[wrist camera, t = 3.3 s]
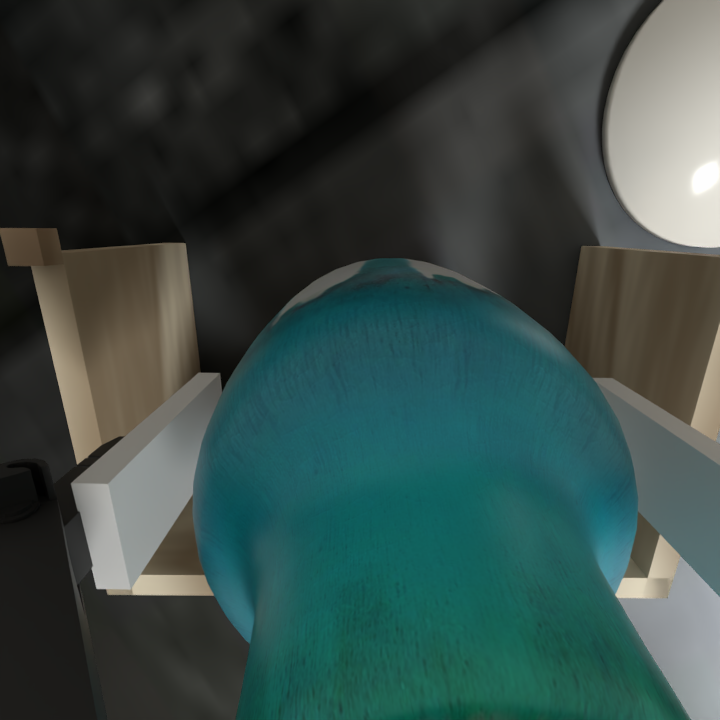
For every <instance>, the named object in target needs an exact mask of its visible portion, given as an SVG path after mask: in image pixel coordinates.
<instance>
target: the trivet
mask: <svg viewBox="0 0 720 720" xmlns="http://www.w3.org/2000/svg"><path fill="white" fill-rule="evenodd" d="M602 151H603V159H604V166H605V170H606V173H607V177H608V181H609V183H610V186H611V188H612V190H613V193H614V195H615V197H616V199H617V200H618V202H619V203H620V205H621V207H622V208H623V210H624V211H625V212H626V213H627V214H628V215H629V216H630V218H631V219H632V220H633V221H634V222H635V223H637V224H638V225H639V226H640V227H641V228H643V229H644V230H645V231H647V232H649V233H650V234H652V235H654V236H655V237H657V238H660V239H662V240H665V241H668V242H670V243H674V244H679V245H683V246H693V247H709V248H710V247H720V0H662V1H661V2H660V3H659V5H658V6H657V7H656V8H655V9H654V10H653V11H652V12H651V13H650V14H649V16H648V17H647V18H646V20H645V21H644V22H643V24H642V25H641V26H640V28H639V29H638V30H637V32H636V33H635V35H634V36H633V38H632V40H631V41H630V43H629V45H628V47H627V48H626V50H625V52H624V54H623V56H622V58H621V60H620V62H619V64H618V67H617V69H616V71H615V74H614V77H613V79H612V82H611V85H610V88H609V91H608V96H607V100H606V104H605V109H604V116H603V125H602Z"/></svg>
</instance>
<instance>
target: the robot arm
mask: <svg viewBox="0 0 720 720" xmlns="http://www.w3.org/2000/svg"><path fill="white" fill-rule="evenodd" d="M593 379H594V381H595V382H596V383H597V385H598V386H599V388H600V390H601V391H602V393H603V395H604V396H605V398H606V399H607V401H608V403H609V404H610V406H611V408H612V409H613V411H614V413H615V415H616V416H617V418H618V420H619V422H620V425H621V428H622V431H623V433H624V436H625V439H626V442H627V445H628V447H629V450H630V454H631V458H632V462H633V467H634V472H635V479H636V486H637V493H638V512H639V513H640V514H641V515H642V516H643V517H644V518H645V519H646V520H647V521H648V522H649V523H650V524H651V525H652V526H653V527H654V528H655V529H656V530H657V531H658V532H659V534H660V535H661V536H662V537H663V538H664V539H665V540H666V541H667V542H668V543H669V544H670V545H671V546H672V547H673V548H674V549H675V550H676V551H677V552H678V553H679V555H680V556H681V557H682V558H683V559H684V560H685V561H686V562H687V563H688V564H689V565H690V566H691V567H692V568H693V569H694V570H695V571H696V572H697V573H698V574H699V575H700V577H701V578H702V579H703V580H704V581H705V582H706V583H707V584H708V585H709V586H710V587H711V588H712V589H713V590H714V591H715V592H716V593H717V594H718V595H719V596H720V444H718V443H717V442H715V441H714V440H712V439H710V438H709V437H707V436H705V435H704V434H702V433H701V432H699V431H697V430H696V429H694V428H692V427H691V426H689V425H688V424H686V423H684V422H683V421H681V420H680V419H678V418H676V417H675V416H673V415H671V414H670V413H668V412H667V411H665V410H663V409H662V408H660V407H658V406H657V405H655V404H654V403H652V402H650V401H649V400H647V399H645V398H644V397H642V396H641V395H639V394H637V393H636V392H634V391H632V390H631V389H629V388H628V387H626V386H624V385H623V384H621V383H619V382H618V381H616V380H615V379H613V378H593ZM221 394H222V387H221V377H220V373H198V374H197V375H196V376H194V377H193V378H192V379H191V380H190V381H189V382H187V383H186V384H185V385H184V386H183V387H182V388H180V389H179V390H178V391H177V392H176V393H175V394H174V395H172V396H171V397H170V398H169V399H168V400H167V401H165V402H164V403H163V404H162V405H161V406H160V407H158V408H157V409H156V410H155V411H154V412H153V413H152V414H150V415H149V416H148V417H147V418H146V419H145V420H143V421H142V422H141V423H140V424H139V425H138V426H136V427H135V428H134V429H133V430H132V431H131V432H130V433H128V434H127V435H126V436H119V437H117V438H115V439H113V440H111V441H109V442H107V443H105V444H103V445H101V446H100V447H98V448H97V449H96V450H95V451H94V452H92V453H91V454H90V455H89V456H88V458H85V459H84V460H83V461H81V462H80V463H79V464H78V465H77V467H74V468H73V469H72V470H70V471H69V472H68V473H67V474H65V475H64V476H63V477H62V478H61V479H59V480H58V481H57V482H56V483H55V484H53V481H52V477H51V473H50V469H49V466H48V464H47V463H46V462H45V461H44V460H39V459H21V460H16V461H11V462H6V463H3V464H0V720H107V715H106V710H105V705H104V700H103V695H102V690H101V685H100V680H99V675H98V670H97V665H96V660H95V655H94V650H93V645H92V640H91V636H90V631H89V626H88V621H87V616H86V611H85V606H84V601H83V596H82V592H81V588H80V584H79V583H80V582H81V580H82V579H83V578H84V577H85V575H86V574H87V573H88V572H89V570H90V569H91V568H92V572H93V576H94V580H95V584H96V588H97V589H128V590H131V588H132V587H133V585H134V584H135V582H136V581H137V579H138V578H139V576H140V574H141V573H142V571H143V570H144V568H145V567H146V565H147V564H148V562H149V561H150V559H151V558H152V556H153V555H154V553H155V551H156V550H157V548H158V547H159V545H160V544H161V542H162V541H163V539H164V538H165V536H166V535H167V533H168V532H169V530H170V529H171V527H172V525H173V524H174V522H175V521H176V519H177V518H178V516H179V515H180V513H181V512H182V510H183V509H184V507H185V506H186V504H187V502H188V501H189V499H190V498H191V496H192V495H193V482H194V475H195V470H196V465H197V461H198V456H199V452H200V447H201V443H202V440H203V437H204V434H205V432H206V429H207V426H208V424H209V421H210V419H211V417H212V414H213V412H214V410H215V407H216V405H217V403H218V400H219V398H220V396H221Z"/></svg>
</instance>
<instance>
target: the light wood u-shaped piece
mask: <svg viewBox="0 0 720 720" xmlns="http://www.w3.org/2000/svg"><path fill="white" fill-rule="evenodd" d="M0 234H1V238H2V242H3V246H4V250H5V254H6V258H7V262H8V266H31V268H32V272H33V277H34V281H35V285H36V290H37V294H38V298H39V302H40V307H41V311H42V315H43V320H44V324H45V328H46V332H47V337H48V341H49V345H50V350H51V354H52V358H53V362H54V367H55V371H56V375H57V380H58V384H59V388H60V392H61V397H62V401H63V405H64V410H65V414H66V418H67V422H68V427H69V431H70V435H71V439H72V444H73V448H74V452H75V457H76V461H77V465H78V464H79V463H80V462H81V461H83V460H84V459H85V458H88V456H89V455H90V454H91V453H92V452H94V451H95V450H96V449H97V448H98V447H100V446H101V445H103V444H105V443H107V442H109V441H111V440H113V439H115V438H117V437H119V436H126V435H127V434H128V433H130V432H131V431H132V430H133V429H134V428H135V427H136V426H138V425H139V424H140V423H141V422H142V421H143V420H145V419H146V418H147V417H148V416H149V415H150V414H152V413H153V412H154V411H155V410H156V409H157V408H158V407H160V406H161V405H162V404H163V403H164V402H165V401H167V400H168V399H169V398H170V397H171V396H172V395H174V394H175V393H176V392H177V391H178V390H179V389H180V388H182V387H183V386H184V385H185V384H186V383H187V382H189V381H190V380H191V379H192V378H193V377H194V376H196V375H197V374H198V373H201V369H200V360H199V352H198V343H197V335H196V326H195V318H194V309H193V301H192V292H191V284H190V276H189V267H188V259H187V250H186V243H157V244H143V245H130V246H116V247H103V248H89V249H76V250H63V251H61V247H60V242H59V237H58V232H57V228H0ZM565 348H566V349H567V350H568V351H569V352H570V353H571V354H572V355H573V357H574V358H575V359H576V360H577V361H578V362H579V363H580V364H581V365H582V367H583V368H584V369H585V370H586V371H587V372H588V374H589V375H590V376H591V377H592V378H613V379H615V380H616V381H618V382H619V383H621V384H623V385H624V386H626V387H628V388H629V389H631V390H632V391H634V392H636V393H637V394H639V395H641V396H642V397H644V398H645V399H647V400H649V401H650V402H652V403H654V404H655V405H657V406H658V407H660V408H662V409H663V410H665V411H667V412H668V413H670V414H671V415H673V416H675V417H676V418H678V419H680V420H681V421H683V422H684V423H686V424H688V425H689V426H691V427H692V428H694V429H696V430H697V431H699V432H701V433H702V434H704V435H705V436H707V437H709V438H710V439H712V440H714V441H716V438H717V435H718V432H719V428H720V255H713V254H699V253H686V252H672V251H659V250H645V249H632V248H618V247H605V246H581V252H580V258H579V264H578V270H577V276H576V282H575V288H574V294H573V300H572V306H571V312H570V318H569V324H568V330H567V336H566V342H565ZM192 509H193V495H192V496H191V498H190V499H189V501H188V502H187V504H186V506H185V507H184V509H183V510H182V512H181V513H180V515H179V516H178V518H177V519H176V521H175V522H174V524H173V525H172V527H171V529H170V530H169V532H168V533H167V535H166V536H165V538H164V539H163V541H162V542H161V544H160V545H159V547H158V548H157V550H156V551H155V553H154V555H153V556H152V558H151V559H150V561H149V562H148V564H147V565H146V567H145V568H144V570H143V571H142V573H141V574H140V576H139V578H138V579H137V581H136V582H135V584H134V585H133V587H132V588H131V590H128V589H107V594H108V595H214V594H213V592H212V590H211V589H210V587H209V585H208V583H207V580H206V577H205V574H204V571H203V569H202V566H201V563H200V560H199V556H198V549H197V543H196V537H195V530H194V523H193V513H192ZM679 559H680V555H679V553H678V552H677V551H676V550H675V549H674V548H673V547H672V546H671V545H670V544H669V543H668V542H667V541H666V540H665V539H664V538H663V537H662V536H661V535H660V534H659V532H658V531H657V530H656V529H655V528H654V527H653V526H652V525H651V524H650V523H649V522H648V521H647V520H646V519H645V518H644V517H643V516H642V515H641V514H640V513H639V512H638V518H637V530H636V535H635V539H634V543H633V547H632V551H631V555H630V559H629V563H628V567H627V570H626V572H625V574H624V576H623V579H622V581H621V583H620V585H619V588H618V590H617V592H616V594H615V595H616V597H617V598H668V595H669V591H670V588H671V585H672V582H673V578H674V575H675V572H676V569H677V565H678V562H679Z"/></svg>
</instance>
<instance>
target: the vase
mask: <svg viewBox="0 0 720 720" xmlns="http://www.w3.org/2000/svg"><path fill="white" fill-rule="evenodd" d="M192 513H193V523H194V530H195V537H196V543H197V549H198V556H199V560H200V563H201V566H202V569H203V571H204V574H205V577H206V580H207V583H208V585H209V587H210V589H211V590H212V592H213V594H214V596H215V597H216V599H217V601H218V603H219V605H220V606H221V608H222V610H223V611H224V613H225V614H226V616H227V618H228V619H229V620H230V621H231V623H232V624H233V625H234V626H235V628H236V629H237V630H238V631H239V633H240V634H241V635H242V636H243V637H244V639H245V640H246V641H248V642H249V643H250V647H249V653H248V659H247V664H246V670H245V675H244V680H243V686H242V691H241V696H240V701H239V705H238V710H237V715H236V719H235V720H691V719H690V717H689V716H688V714H687V713H686V711H685V709H684V708H683V706H682V704H681V703H680V701H679V699H678V698H677V696H676V695H675V693H674V691H673V690H672V688H671V686H670V685H669V683H668V682H667V680H666V678H665V677H664V675H663V674H662V672H661V670H660V669H659V667H658V666H657V664H656V662H655V661H654V659H653V658H652V656H651V654H650V653H649V651H648V650H647V648H646V646H645V645H644V643H643V641H642V640H641V638H640V636H639V635H638V633H637V631H636V630H635V628H634V626H633V624H632V623H631V621H630V619H629V618H628V616H627V614H626V613H625V611H624V609H623V607H622V606H621V604H620V602H619V600H618V599H617V597H616V595H615V594H616V592H617V590H618V588H619V585H620V583H621V581H622V579H623V576H624V574H625V572H626V570H627V567H628V563H629V559H630V555H631V551H632V547H633V543H634V539H635V535H636V530H637V518H638V493H637V486H636V479H635V472H634V467H633V462H632V458H631V454H630V450H629V447H628V445H627V442H626V439H625V436H624V433H623V431H622V428H621V425H620V422H619V420H618V418H617V416H616V415H615V413H614V411H613V409H612V408H611V406H610V404H609V403H608V401H607V399H606V398H605V396H604V395H603V393H602V391H601V390H600V388H599V386H598V385H597V383H596V382H595V381H594V379H593V378H592V377H591V376H590V375H589V374H588V372H587V371H586V370H585V369H584V368H583V367H582V365H581V364H580V363H579V362H578V361H577V360H576V359H575V358H574V357H573V355H572V354H571V353H570V352H569V351H568V350H567V349H566V348H565V346H564V345H563V344H562V343H561V342H560V341H558V340H557V339H556V338H555V337H554V336H553V335H552V334H551V333H550V332H549V331H548V330H546V329H545V328H544V327H543V326H541V325H540V324H539V323H537V322H536V321H535V320H534V319H532V318H531V317H530V316H528V315H527V314H526V313H525V312H523V311H522V310H521V309H519V308H518V307H517V306H515V305H514V304H513V303H511V302H510V301H508V300H507V299H505V298H504V297H502V296H501V295H499V294H497V293H495V292H493V291H492V290H490V289H488V288H486V287H484V286H482V285H480V284H478V283H477V282H475V281H473V280H471V279H469V278H467V277H465V276H463V275H461V274H459V273H457V272H454V271H452V270H449V269H446V268H443V267H440V266H437V265H434V264H431V263H427V262H423V261H417V260H410V259H404V258H377V259H372V260H366V261H360V262H356V263H353V264H350V265H347V266H344V267H341V268H338V269H336V270H334V271H332V272H330V273H328V274H326V275H324V276H322V277H321V278H319V279H317V280H315V281H314V282H312V283H311V284H310V285H309V286H307V287H306V288H305V289H303V290H302V291H301V292H299V293H298V294H297V295H295V296H294V297H293V298H292V299H291V300H290V301H289V302H288V303H287V304H286V305H285V306H284V307H283V308H282V309H281V310H280V311H279V312H278V313H277V315H276V316H275V317H274V318H273V319H272V320H271V321H270V322H269V323H268V324H267V325H266V327H265V328H264V329H263V330H262V331H261V332H260V334H259V335H258V336H257V338H256V339H255V340H254V342H253V343H252V344H251V346H250V347H249V349H248V350H247V352H246V353H245V355H244V356H243V358H242V359H241V361H240V362H239V364H238V365H237V367H236V369H235V370H234V372H233V373H232V375H231V377H230V378H229V380H228V382H227V384H226V386H225V388H224V390H223V392H222V394H221V396H220V398H219V400H218V403H217V405H216V407H215V410H214V412H213V414H212V417H211V419H210V421H209V424H208V426H207V429H206V432H205V434H204V437H203V440H202V443H201V447H200V452H199V456H198V461H197V465H196V470H195V475H194V482H193V509H192Z"/></svg>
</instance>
